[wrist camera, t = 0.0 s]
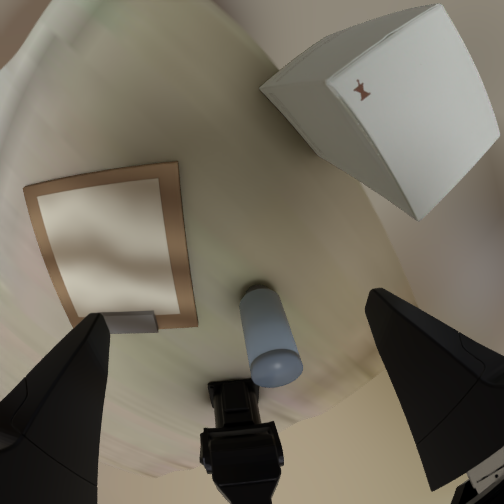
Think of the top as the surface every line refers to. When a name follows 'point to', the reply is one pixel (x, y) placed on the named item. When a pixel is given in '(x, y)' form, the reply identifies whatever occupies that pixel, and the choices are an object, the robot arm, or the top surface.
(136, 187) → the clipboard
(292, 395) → the top surface
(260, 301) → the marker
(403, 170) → the supplement box
